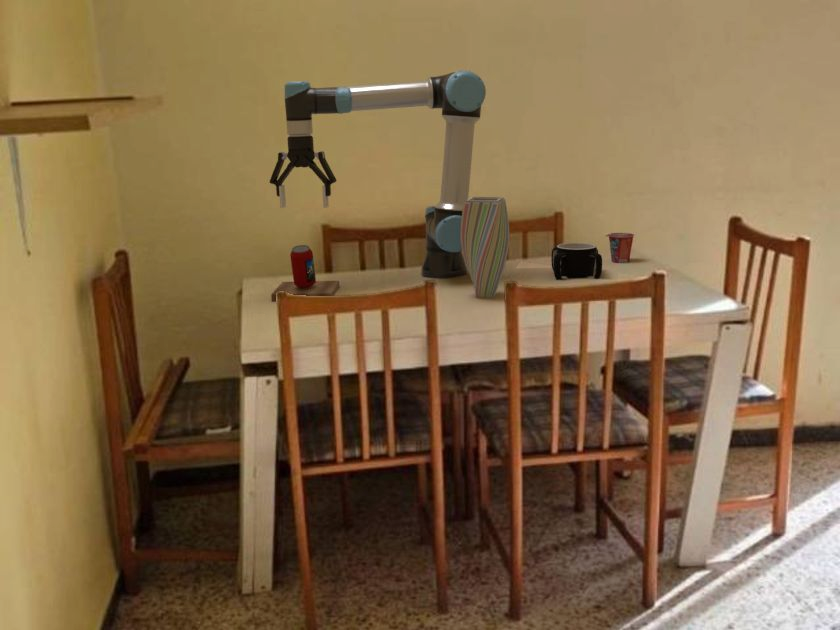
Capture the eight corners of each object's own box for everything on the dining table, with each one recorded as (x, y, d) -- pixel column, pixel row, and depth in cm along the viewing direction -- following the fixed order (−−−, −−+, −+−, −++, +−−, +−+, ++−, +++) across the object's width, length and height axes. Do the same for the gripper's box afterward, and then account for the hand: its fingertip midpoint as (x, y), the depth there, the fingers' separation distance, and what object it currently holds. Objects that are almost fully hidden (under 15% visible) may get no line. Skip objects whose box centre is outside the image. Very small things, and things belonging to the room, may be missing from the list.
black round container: (551, 277, 290) (552, 241, 287) (602, 278, 287) (603, 241, 284) (548, 288, 275) (548, 249, 272) (601, 289, 271) (602, 250, 269)
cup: (616, 266, 306) (617, 231, 303) (638, 269, 300) (639, 234, 297) (600, 270, 300) (601, 235, 297) (621, 273, 294) (622, 237, 291)
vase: (511, 298, 263) (511, 195, 256) (505, 308, 250) (505, 201, 243) (466, 296, 266) (465, 195, 259) (458, 307, 253) (456, 201, 246)
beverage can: (317, 287, 271) (312, 251, 266) (294, 290, 270) (290, 253, 265) (315, 279, 277) (311, 243, 272) (293, 281, 276) (288, 245, 271)
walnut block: (339, 289, 283) (338, 280, 282) (332, 302, 265) (331, 293, 265) (283, 291, 284) (282, 281, 283) (271, 304, 266) (271, 294, 265)
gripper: (344, 133, 264) (347, 205, 269) (265, 135, 270) (270, 205, 275) (336, 135, 257) (340, 208, 262) (255, 136, 262) (260, 208, 268)
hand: (304, 207), depth 268 cm, fingers open, 13 cm apart
